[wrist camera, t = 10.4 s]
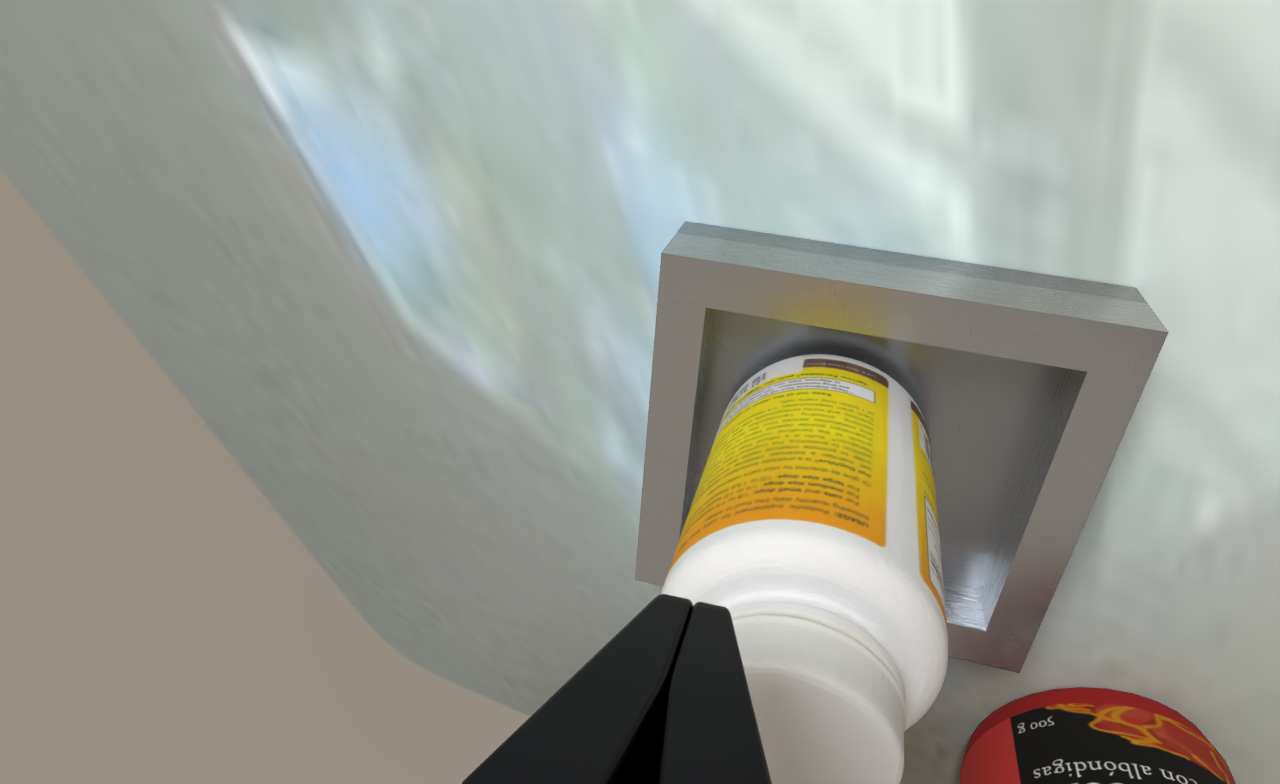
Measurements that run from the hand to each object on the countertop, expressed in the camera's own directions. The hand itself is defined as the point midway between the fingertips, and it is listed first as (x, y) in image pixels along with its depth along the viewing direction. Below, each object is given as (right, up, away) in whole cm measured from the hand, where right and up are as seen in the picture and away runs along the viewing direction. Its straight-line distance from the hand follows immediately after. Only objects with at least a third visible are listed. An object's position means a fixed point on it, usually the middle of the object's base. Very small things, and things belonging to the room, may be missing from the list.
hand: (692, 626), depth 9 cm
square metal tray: (+5, +2, +13) cm, 14 cm away
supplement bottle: (+4, +2, +13) cm, 14 cm away
